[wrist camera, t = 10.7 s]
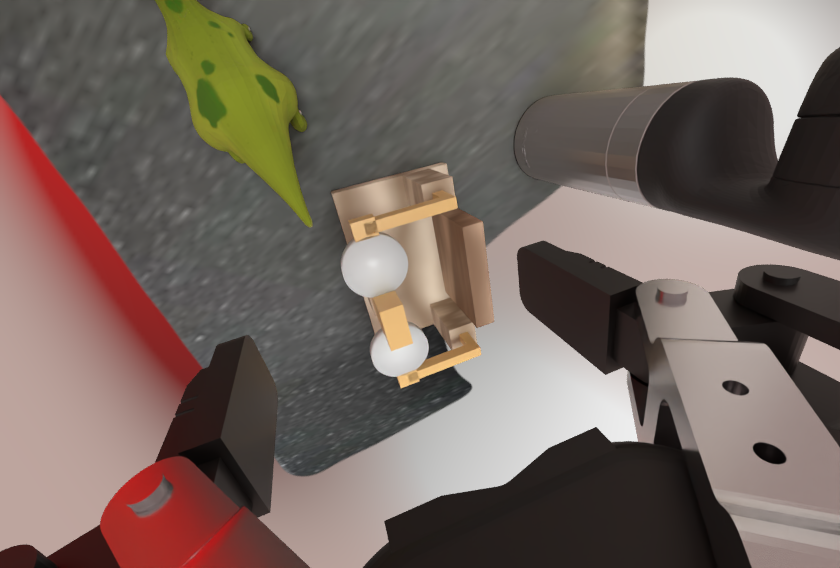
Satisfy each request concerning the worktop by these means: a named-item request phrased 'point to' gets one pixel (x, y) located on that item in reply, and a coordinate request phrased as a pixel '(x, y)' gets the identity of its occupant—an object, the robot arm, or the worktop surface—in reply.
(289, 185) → the toy
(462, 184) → the worktop surface
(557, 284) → the robot arm
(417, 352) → the glasses
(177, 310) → the worktop surface
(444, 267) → the display stand
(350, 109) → the worktop surface
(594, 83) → the worktop surface
